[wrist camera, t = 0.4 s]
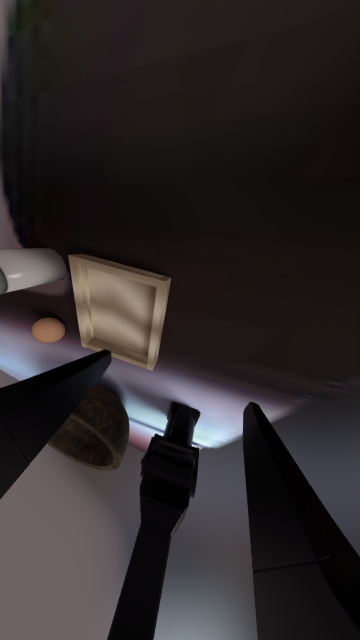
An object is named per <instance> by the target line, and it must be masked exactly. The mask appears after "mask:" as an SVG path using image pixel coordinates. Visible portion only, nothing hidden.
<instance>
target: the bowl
mask: <svg viewBox="0 0 360 640" xmlns="http://www.w3.org/2000/svg"><path fill="white" fill-rule="evenodd" d="M128 440H129V418H128V415H127V412H126V410H125V408H124V406H123V404H122V403H121V401H120V400H119V399H118V398H117V397H116V396H115V395H114V394H113V393H112V392H111V391H109V390H107V389H106V388H104V387H101V386H99V385H95V386H94V387H93V389H92V390H91V391H90V392H89V393H88V395H87V396H86V397H85V398H84V399H83V401H82V402H81V403H80V404H79V405H78V407H77V408H76V409H75V410H74V411H73V413H72V414H71V415H70V416H69V417H68V419H67V420H66V421H65V422H64V423H63V425H62V426H61V427H60V428H59V429H58V431H57V432H56V433H55V434H54V435H53V437H52V438H51V439H50V440H49V441H48V443H47V444H48V445H50V446H51V447H52V448H54V449H55V450H57V451H58V452H60V453H62V454H63V455H65V456H66V457H68V458H70V459H72V460H74V461H76V462H78V463H81V464H83V465H85V466H88V467H91V468H95V469H99V470H114V469H116V468H118V467H119V466H120V464H121V461H122V459H123V456H124V453H125V450H126V447H127V444H128Z"/></svg>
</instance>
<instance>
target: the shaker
mask: <svg viewBox="0 0 360 640" xmlns="http://www.w3.org/2000/svg"><path fill="white" fill-rule="evenodd" d="M65 276H66V266H65V263H64V261H63V259H62V257H61V256H60V255H59V254H58V253H57V252H56V251H54V250H53V249H50V248H28V249H0V295H2V294H5V293H7V292H11V291H15V290H20V289H24V288H28V287H33V286H37V285H41V284H46V283H50V282H54V281H58V280H62V279H64V278H65Z"/></svg>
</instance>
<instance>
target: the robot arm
mask: <svg viewBox="0 0 360 640" xmlns="http://www.w3.org/2000/svg"><path fill="white" fill-rule="evenodd" d="M110 363H111V351H109V350H107V349H104V350H101V351H99V352H96V353H93V354H91V355H88V356H85V357H83V358H80V359H78V360H75V361H72V362H70V363H67V364H65V365H62V366H59V367H57V368H54V369H52V370H49V371H46V372H44V373H41V374H39V375H36V376H33V377H31V378H28V379H25V380H22V381H20V382H17V383H14V384H11V385H8V386H5V387H2V388H0V499H1V498H2V497H3V496H4V494H5V493H6V492H7V490H8V489H9V488H10V487H11V486H12V485H13V484H14V482H15V481H16V480H17V479H18V478H19V476H20V475H21V474H22V473H23V472H24V470H25V469H26V468H27V467H28V466H29V464H30V463H31V462H32V461H33V459H34V458H35V457H36V456H37V455H38V453H39V452H40V451H41V450H42V449H43V447H44V446H45V445H46V444H47V443H48V441H49V440H50V439H51V438H52V437H53V435H54V434H55V433H56V432H57V431H58V429H59V428H60V427H61V426H62V425H63V423H64V422H65V421H66V420H67V419H68V417H69V416H70V415H71V414H72V413H73V411H74V410H75V409H76V408H77V407H78V405H79V404H80V403H81V402H82V401H83V399H84V398H85V397H86V396H87V395H88V393H89V392H90V391H91V390H92V389H93V387H94V386H95V385H96V384H97V382H98V381H99V379H100V378H101V376H102V375H103V373H104V372H105V371H106V369H107V368H108V366H109V365H110ZM199 417H200V412H199V411H197V410H194V409H191V408H188V407H186V406H183V405H180V404H178V403H175V402H172V403H171V406H170V409H169V413H168V416H167V420H168V422H167V425H166V429H165V432H164V435H163V436H160V435H158V434H156V433H155V436H154V437H152V439H151V442H150V444H149V447H148V449H147V451H146V452H145V454H144V456H143V458H142V460H141V466H142V469H141V477H142V482H141V484H140V509H141V525H140V528H139V532H138V535H137V539H136V542H135V546H134V549H133V553H132V556H131V559H130V563H129V566H128V570H127V573H126V577H125V580H124V584H123V587H122V590H121V594H120V597H119V601H118V604H117V608H116V611H115V614H114V618H113V622H112V625H111V628H110V632H109V635H108V639H107V640H153V639H154V633H155V627H156V622H157V615H158V610H159V604H160V598H161V593H162V587H163V581H164V576H165V570H166V564H167V558H168V553H169V547H170V541H171V539H172V537H173V536H174V534H175V532H176V531H177V529H178V527H179V526H180V524H181V522H182V521H183V519H184V517H185V515H186V512H187V509H188V506H189V499H190V497H192V498H194V494H195V488H196V481H197V471H198V459H199V448H198V447H193V446H192V440H193V433H194V427H195V425H196V423H197V421H198V419H199ZM243 451H244V464H245V477H246V491H247V504H248V516H249V529H250V542H251V554H252V568H253V582H254V595H255V607H256V621H257V633H258V640H360V557H359V555H358V554H357V552H356V551H355V550H354V548H353V547H352V545H351V544H350V543H349V541H348V540H347V538H346V537H345V536H344V534H343V533H342V531H341V530H340V528H339V527H338V526H337V524H336V523H335V521H334V520H333V518H332V517H331V516H330V514H329V513H328V511H327V510H326V508H325V507H324V505H323V504H322V502H321V501H320V499H319V498H318V496H317V494H316V493H315V491H314V490H313V488H312V487H311V486H310V485H309V482H308V481H307V479H306V478H305V476H304V474H303V473H302V471H301V470H300V468H299V467H298V465H297V464H296V462H295V461H294V459H293V458H292V456H291V455H290V453H289V451H288V450H287V448H286V447H285V445H284V444H283V442H282V440H281V439H280V437H279V436H278V434H277V433H276V431H275V430H274V428H273V427H272V425H271V424H270V422H269V420H268V419H267V417H266V416H265V414H264V413H263V411H262V410H261V408H260V406H259V405H258V404H256V403H254V402H249V404H248V405H247V406H246V408H245V409H244V412H243Z"/></svg>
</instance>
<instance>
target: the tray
mask: <svg viewBox="0 0 360 640" xmlns="http://www.w3.org/2000/svg"><path fill="white" fill-rule="evenodd" d="M68 256H69V263H70V269H71V276H72V283H73V290H74V296H75V303H76V310H77V316H78V323H79V330H80V337H81V343H82V346H83V347H86V348H89V349H92V350H95V351H97V352H99V351H101V350H104V349H107V350H109V351H111V356H112V357H115V358H117V359H120V360H123V361H126V362H129V363H132V364H135V365H137V366H140V367H143V368H146V369H149V370H152V369H153V367H154V366H155V364H156V362H157V359H158V353H159V347H160V341H161V335H162V329H163V323H164V317H165V311H166V306H167V300H168V294H169V288H170V282H171V277H167V276H164V275H160V274H156V273H152V272H149V271H145V270H141V269H137V268H134V267H130V266H126V265H123V264H119V263H115V262H111V261H108V260H104V259H100V258H96V257H93V256H89V255H85V254H76V255H68Z"/></svg>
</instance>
